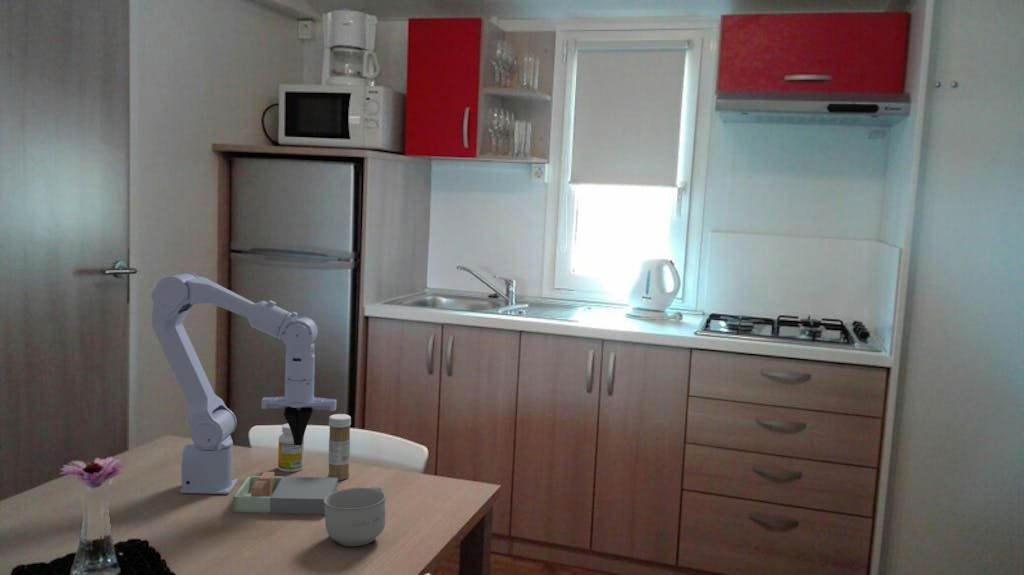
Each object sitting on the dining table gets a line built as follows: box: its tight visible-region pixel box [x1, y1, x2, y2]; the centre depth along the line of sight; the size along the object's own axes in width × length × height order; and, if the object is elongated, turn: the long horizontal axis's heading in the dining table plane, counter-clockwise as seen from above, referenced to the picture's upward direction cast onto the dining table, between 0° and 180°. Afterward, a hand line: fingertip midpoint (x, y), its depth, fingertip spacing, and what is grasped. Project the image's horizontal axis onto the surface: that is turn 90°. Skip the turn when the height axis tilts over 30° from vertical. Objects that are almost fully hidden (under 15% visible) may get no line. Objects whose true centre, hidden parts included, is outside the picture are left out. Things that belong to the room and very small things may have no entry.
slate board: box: [269, 476, 339, 515], centre depth 167 cm, size 11×12×3 cm
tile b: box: [251, 481, 267, 497], centre depth 164 cm, size 4×4×2 cm
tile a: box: [260, 471, 275, 497], centre depth 169 cm, size 4×4×2 cm
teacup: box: [324, 485, 387, 547], centre depth 152 cm, size 14×11×8 cm
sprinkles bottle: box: [327, 413, 352, 481], centre depth 182 cm, size 5×5×13 cm
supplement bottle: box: [277, 422, 305, 473], centre depth 186 cm, size 5×5×10 cm
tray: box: [232, 475, 283, 514], centre depth 167 cm, size 7×12×3 cm, turn 4°
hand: (298, 443), depth 172 cm, fingers closed
